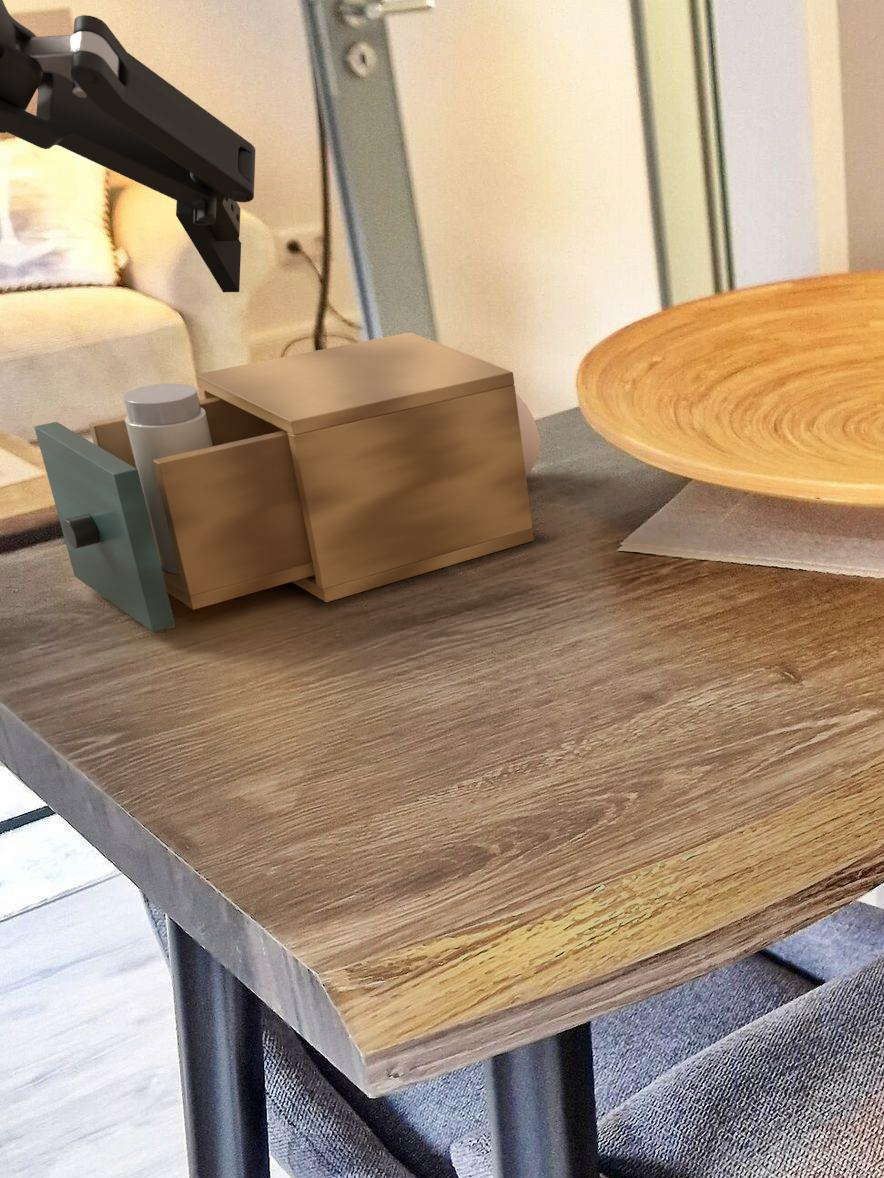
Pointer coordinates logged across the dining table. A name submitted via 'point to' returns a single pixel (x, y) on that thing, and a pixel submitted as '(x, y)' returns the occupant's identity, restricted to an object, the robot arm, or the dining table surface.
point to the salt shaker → (163, 445)
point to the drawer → (180, 513)
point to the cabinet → (392, 455)
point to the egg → (528, 435)
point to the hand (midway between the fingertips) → (84, 269)
